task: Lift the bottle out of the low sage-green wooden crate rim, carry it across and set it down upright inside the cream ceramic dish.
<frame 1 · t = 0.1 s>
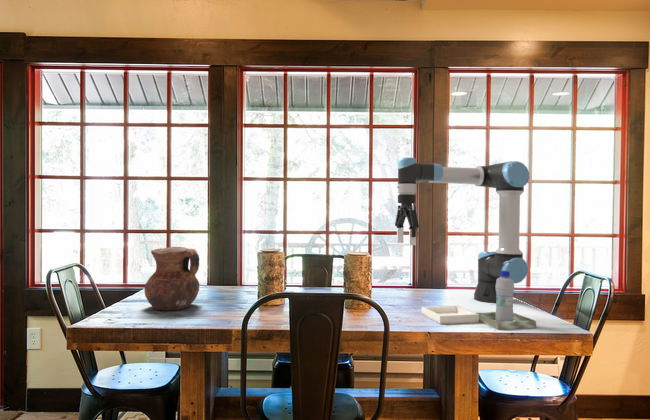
hand: (406, 244, 194), 28 cm above the table, fingers open, 13 cm apart
bottle: (504, 323, 172), resting in crate rim
jug: (172, 307, 193), on the table
crate rim: (504, 323, 172), on the table
cream dish: (449, 318, 179), on the table
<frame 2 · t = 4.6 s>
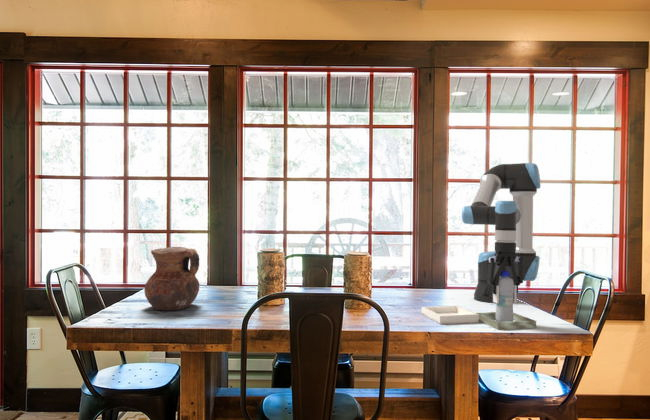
hand: (504, 302, 172), 8 cm above the table, fingers closed on bottle, 7 cm apart
bottle: (504, 323, 172), resting in crate rim, touching gripper
everything else where it was.
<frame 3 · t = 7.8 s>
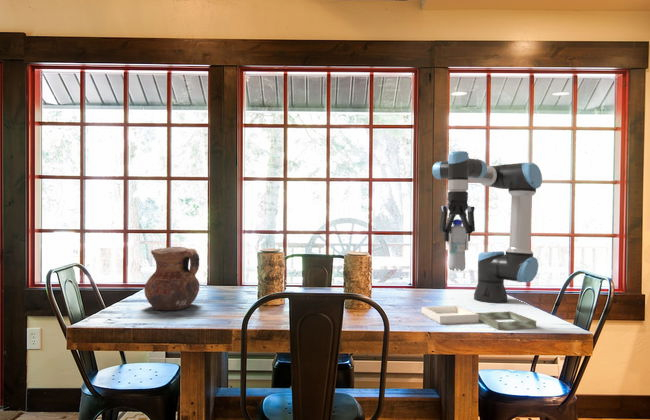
hand: (457, 249, 178), 27 cm above the table, fingers closed on bottle, 7 cm apart
bottle: (456, 270, 178), point 19 cm above the table, touching gripper
everything else where it was.
when the fingers open (9 cm above the table, at t = 10.8 s): bottle stays where it is, resting on cream dish.
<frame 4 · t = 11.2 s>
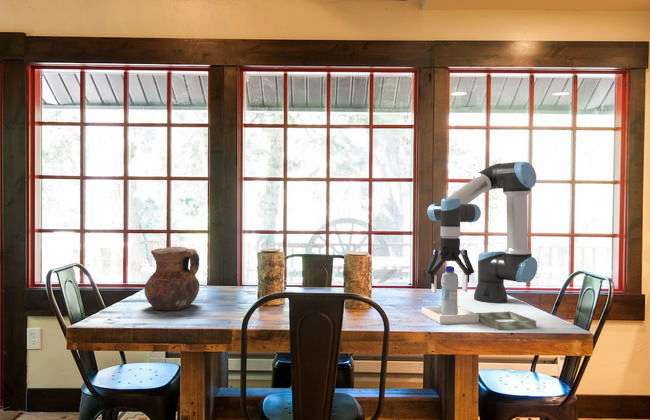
hand: (449, 291, 179), 10 cm above the table, fingers open, 13 cm apart
bottle: (449, 317, 179), resting on cream dish
everything else where it was.
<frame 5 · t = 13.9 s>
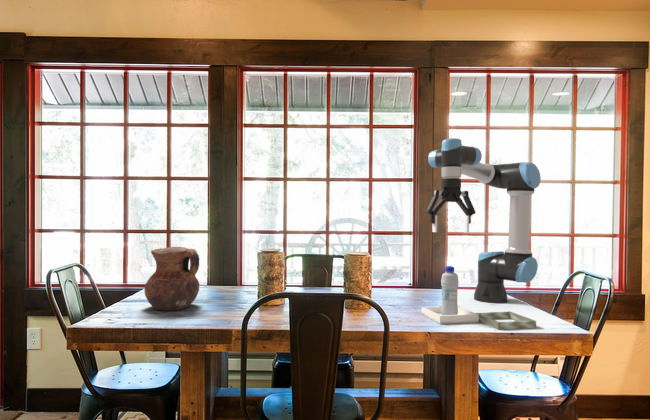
hand: (450, 232, 179), 34 cm above the table, fingers open, 13 cm apart
nothing on the table moved.
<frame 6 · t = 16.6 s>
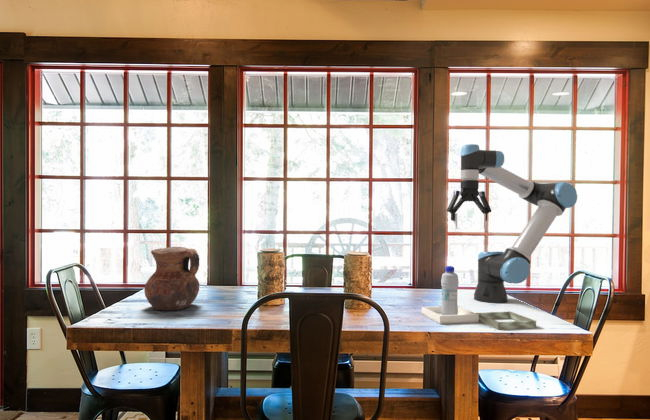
hand: (468, 228, 200), 35 cm above the table, fingers open, 13 cm apart
nothing on the table moved.
at the end: bottle 0.1 cm from the cream dish (horizontally); bottle tilted 0°; the gripper is holding nothing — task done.
